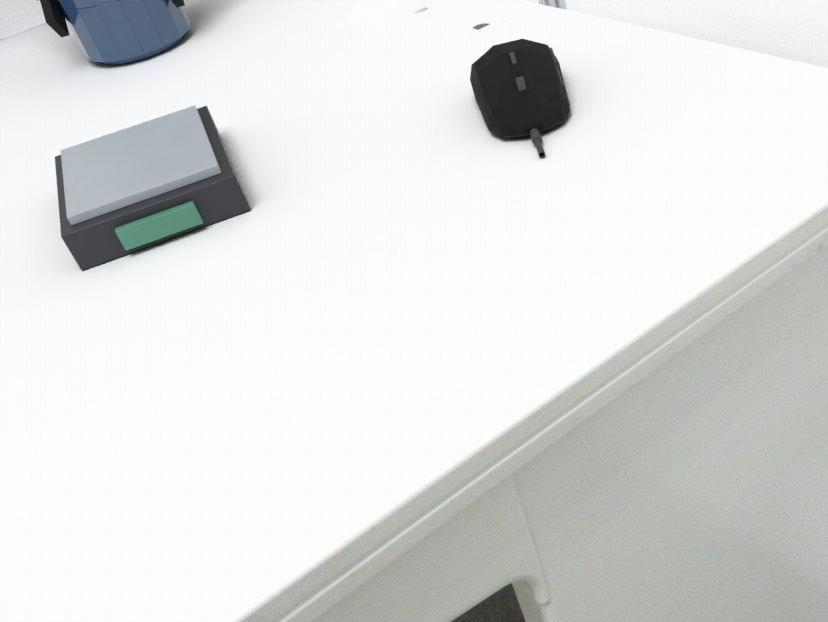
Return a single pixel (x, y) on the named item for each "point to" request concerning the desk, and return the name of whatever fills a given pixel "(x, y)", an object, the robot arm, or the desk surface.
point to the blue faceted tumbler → (124, 27)
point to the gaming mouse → (520, 90)
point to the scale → (145, 186)
